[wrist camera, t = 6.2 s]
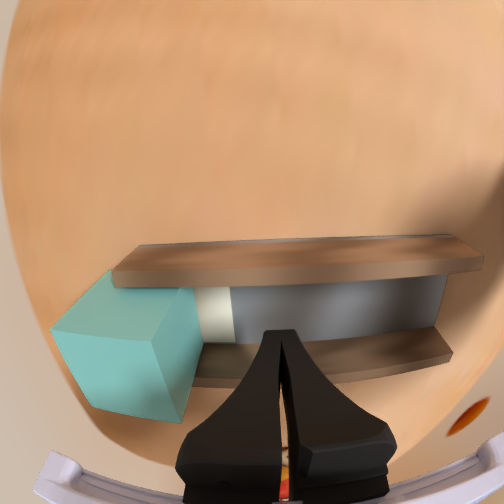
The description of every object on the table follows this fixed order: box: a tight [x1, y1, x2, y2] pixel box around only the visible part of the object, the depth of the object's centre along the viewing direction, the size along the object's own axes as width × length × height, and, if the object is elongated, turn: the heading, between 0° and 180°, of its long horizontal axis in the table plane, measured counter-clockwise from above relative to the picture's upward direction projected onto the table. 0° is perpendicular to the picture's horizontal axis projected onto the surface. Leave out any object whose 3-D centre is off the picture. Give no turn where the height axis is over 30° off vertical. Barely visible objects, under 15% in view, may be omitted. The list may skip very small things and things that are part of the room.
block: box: [50, 270, 203, 424], centre depth 13 cm, size 5×5×6 cm
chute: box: [111, 235, 484, 388], centre depth 14 cm, size 19×7×4 cm, turn 93°
